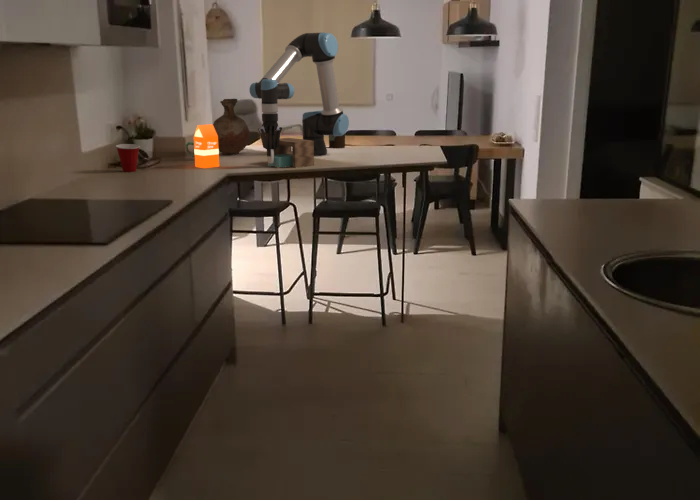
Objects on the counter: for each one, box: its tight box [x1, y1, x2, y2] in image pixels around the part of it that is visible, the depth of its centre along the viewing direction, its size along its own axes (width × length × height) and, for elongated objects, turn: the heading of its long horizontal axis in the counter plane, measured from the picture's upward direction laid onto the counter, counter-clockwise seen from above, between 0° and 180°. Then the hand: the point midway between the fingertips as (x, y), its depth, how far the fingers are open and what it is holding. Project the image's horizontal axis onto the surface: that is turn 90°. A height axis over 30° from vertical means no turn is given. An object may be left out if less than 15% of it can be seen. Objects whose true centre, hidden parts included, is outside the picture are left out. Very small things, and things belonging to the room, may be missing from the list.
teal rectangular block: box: [267, 154, 293, 168], centre depth 333 cm, size 12×9×5 cm
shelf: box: [275, 137, 315, 168], centre depth 336 cm, size 12×19×12 cm, turn 44°
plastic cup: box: [115, 143, 141, 173], centre depth 315 cm, size 11×11×12 cm
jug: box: [213, 98, 251, 156], centre depth 373 cm, size 22×22×30 cm
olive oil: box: [328, 104, 346, 149], centre depth 406 cm, size 11×11×25 cm
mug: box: [184, 141, 195, 159], centre depth 352 cm, size 15×10×10 cm
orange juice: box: [193, 123, 220, 169], centre depth 328 cm, size 8×9×20 cm
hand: (271, 162), depth 329 cm, fingers closed
